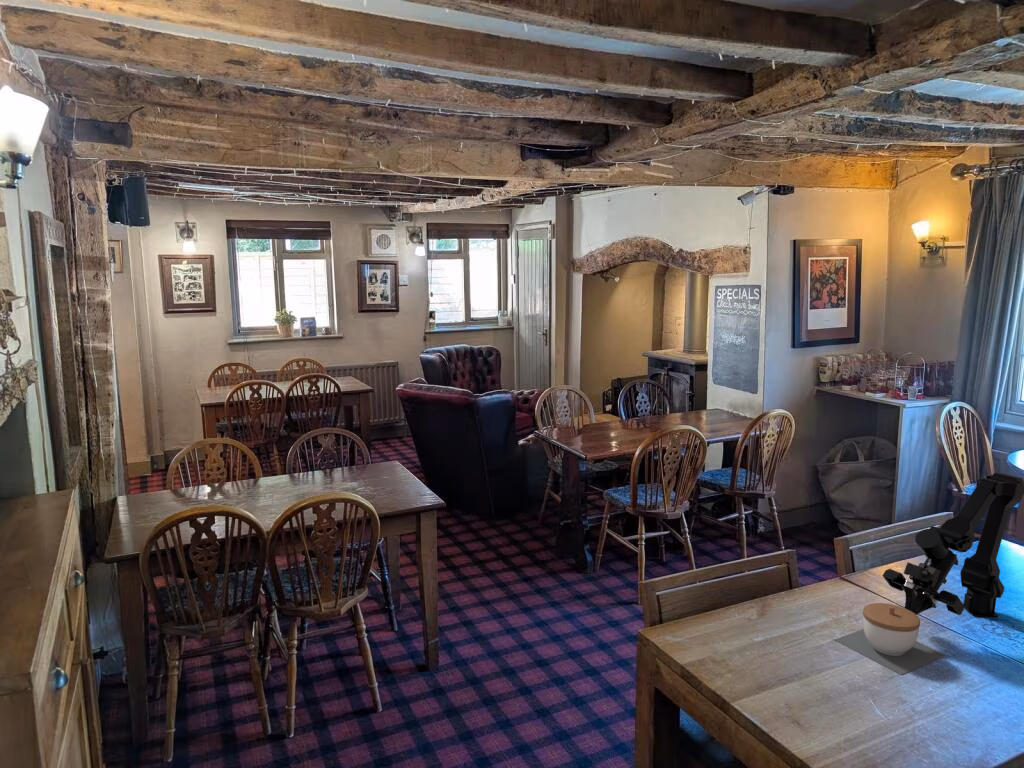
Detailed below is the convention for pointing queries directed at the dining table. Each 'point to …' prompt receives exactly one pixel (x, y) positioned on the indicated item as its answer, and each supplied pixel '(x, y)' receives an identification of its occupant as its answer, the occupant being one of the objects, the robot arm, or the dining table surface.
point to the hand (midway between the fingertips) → (905, 618)
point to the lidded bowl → (890, 628)
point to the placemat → (898, 664)
